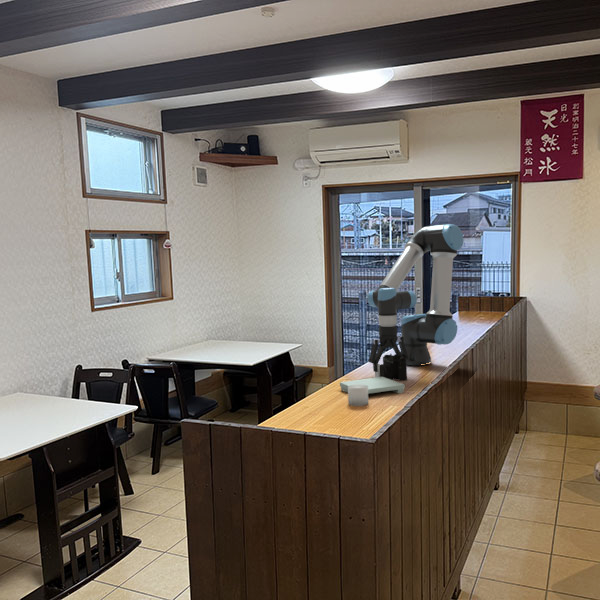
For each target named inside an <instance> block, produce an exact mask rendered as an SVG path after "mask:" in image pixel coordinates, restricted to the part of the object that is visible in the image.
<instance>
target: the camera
mask: <svg viewBox="0 0 600 600" xmlns="http://www.w3.org/2000/svg"><path fill="white" fill-rule="evenodd" d="M407 369H408V367H407V365H406V359H405V358H404V357H401V355H399V354H396V353H395V354H394V355H392V353H390V354H384V355H383V356H382V364H380V377H385V378H387V379H390V380H397V381H398V380H399V381H407V380H408V370H407Z"/></svg>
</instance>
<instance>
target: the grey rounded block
mask: <svg viewBox="0 0 600 600" xmlns="http://www.w3.org/2000/svg"><path fill="white" fill-rule="evenodd" d="M347 394H348V395H347V397H348V398H347V401H348V405H349V406H352V407H363V406H368V405H369V394H368V386H367V385H360V384H357V385H350V386H348V393H347Z"/></svg>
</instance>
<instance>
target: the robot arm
mask: <svg viewBox="0 0 600 600" xmlns="http://www.w3.org/2000/svg"><path fill="white" fill-rule="evenodd" d="M463 245H464V235H463V232H462V230H461V228H460V227H459V226H458V225H456V224H453V223H452V224H451V223H447V224H446V223H445V224H444V223H443V224H436V225H426V226H423V227H422V228H420V229H419V230H417V231H416V232H414V234H412V236H411V237H409V239H408V240H407V242H406V243H405V244H404V250H403V251H402V252H401V254H400V256H399V257H398V258H397V260H396V261H395V263H394V264H393V266H392V267H391V269H390V270H389V271H388V273H387V275H386V276H385V277H384V279H383V280H382V282H381V283H380V285H379V287H378V288H377V289H373V290H370V291H369V292H368V294H367V298H366V299H367V304H368V305H369V306H370V307H372V308H376V309H377V308H378V310H377V311H378V324H379V326H378V334H379V335H378V338H373V339H372V345H371V350H370V353H369V358H368V363H371V364H372V367H373V368H372V369H373V372H374V378H376V377H380V365H381V364H379V362H380V360H381V357H383V354H384V351H386V349H390V348H391V349H392V350H393V352H394V353H395V354H399V355H401V357H404V358H405V359H406V365H421V364H426V363H429V362H431V363H432V358H431V354H430V351H429V348H428V344H435V345H440V346H441V345H444V346H445V345H449V344H451V343H453V341H454V340H455V338H456V337H457V334H458V324H457V322H456V320H454V319H453V318H454V317H453V314H452V313H451V311H450V309H451V308H450V307H451V294H452V292H451V291H452V279H453V263H454V258H455V257H457V255H458V251H459V250H461V248H462V247H463ZM427 252H430V255H431V256H432V258H433V262H432V265H433V266H432V274H431V275H432V277H431V290H430V291H431V293H430V302H429V303H430V305H429V306H430V307H429V310H428V311H427V312H426V313H421V314H419V313H418V314H411V315H403V316H402V317H401V324H400V325H401V327H400V328H401V335H399V336H397V335H398V326H397V324H398V316H397V314H398V312H397V311H399V310H406V309H407V310H410V309H411V308H414V307H416V304H417V302H418V300H417V295H416V293H415V292H414V291H412V290H403V291H402V290H398V289H399V288H400V287H401V285H402V284H403V282H404V281H405V279H406V277H407V276H408V274H409V273H410V272H411V270H412V268H413V267H414V266H415V264H416V262H417V261H418V260H419V258H420V259H421V258H423V256H425V255H424V254H426V253H427ZM397 342H398V344H397Z"/></svg>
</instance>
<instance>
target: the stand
mask: <svg viewBox="0 0 600 600" xmlns="http://www.w3.org/2000/svg"><path fill="white" fill-rule="evenodd" d="M357 384H360V385H367V386H368V395H369V394H375V393H381V392H389V391H390V392H394V393H396V394H402V393H403V394H404V391H405V390H404V389H405V388H406V386H405V384H404V383H403V382H402V383H401V382H399V381H396V380H394V379H387V378H385V377H376V378H375V377H371V378H370V377H369V378H363V379H356V380H355V379H353V380H346V381H340V382H339V387H340V389H341V391H342V392H345V393H347V394H348V386H350V385H357Z"/></svg>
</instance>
